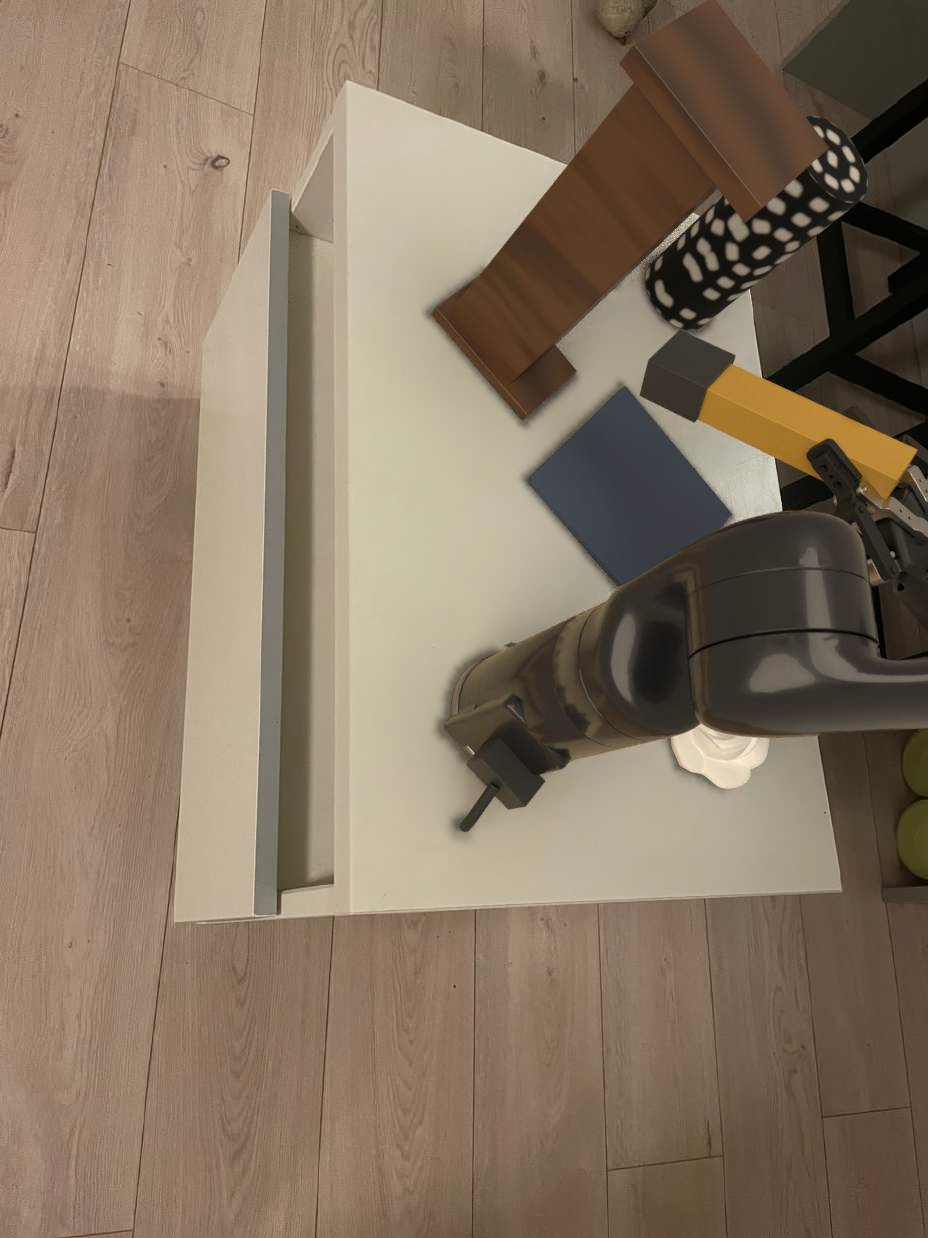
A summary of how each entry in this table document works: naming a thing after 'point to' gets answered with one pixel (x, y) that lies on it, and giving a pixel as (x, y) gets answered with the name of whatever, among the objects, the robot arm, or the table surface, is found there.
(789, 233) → the white-spotted black cylinder
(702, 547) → the robot arm
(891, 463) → the pen box
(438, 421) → the table surface
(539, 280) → the stand
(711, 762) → the rose
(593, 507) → the desk mat
